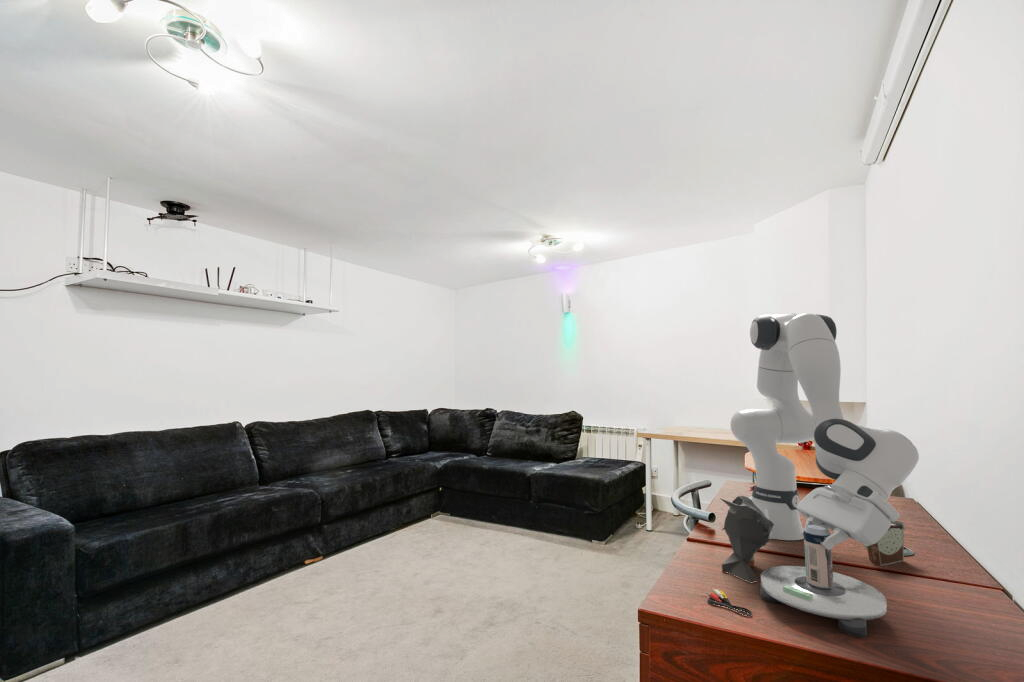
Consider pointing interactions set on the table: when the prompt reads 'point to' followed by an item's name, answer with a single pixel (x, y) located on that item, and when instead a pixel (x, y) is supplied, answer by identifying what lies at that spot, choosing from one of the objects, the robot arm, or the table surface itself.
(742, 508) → the dark grey angular piece
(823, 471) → the robot arm
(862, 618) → the round grey plate
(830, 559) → the beer can
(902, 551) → the food container
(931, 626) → the table surface
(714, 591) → the composite cable
